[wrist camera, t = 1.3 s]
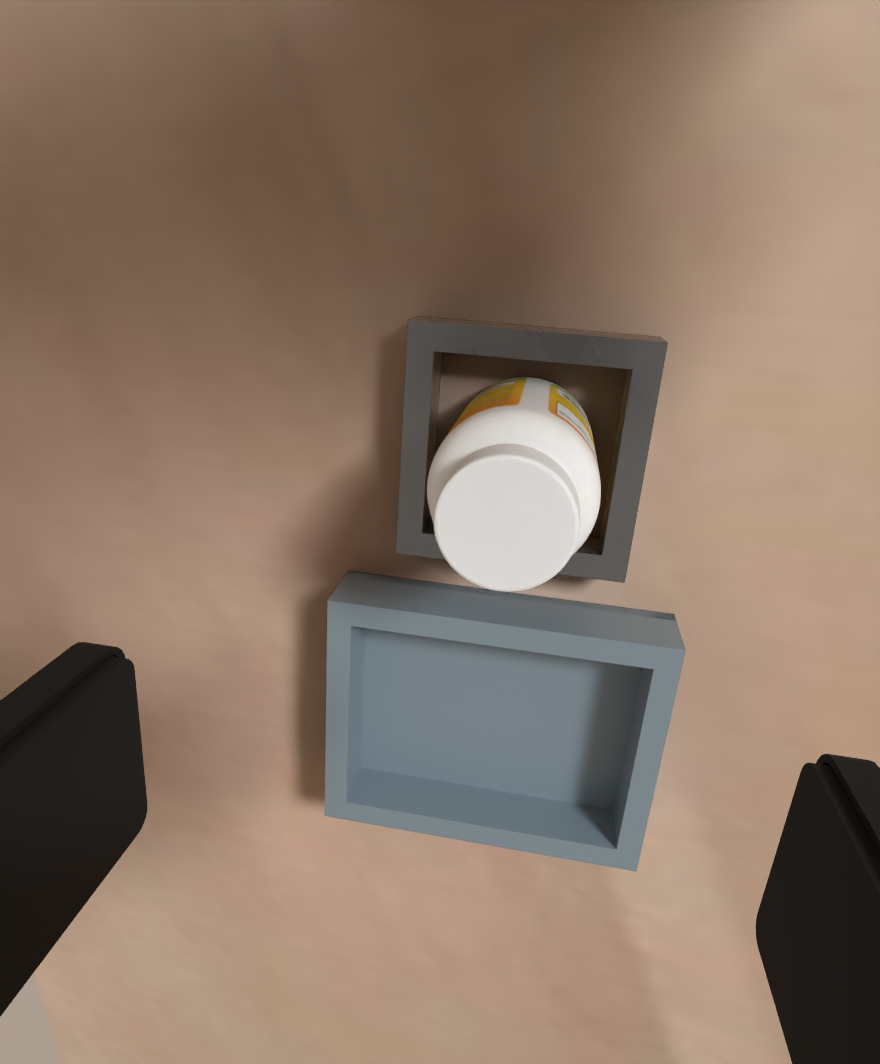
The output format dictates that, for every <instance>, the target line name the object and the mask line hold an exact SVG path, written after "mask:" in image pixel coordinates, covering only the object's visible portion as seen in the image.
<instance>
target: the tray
mask: <svg viewBox="0 0 880 1064" xmlns="http://www.w3.org/2000/svg"><path fill="white" fill-rule="evenodd" d="M685 651H686V650H685V647H684V644H683V641H682V638H681V634H680V631H679V628H678V625H677V622H676V619H675V616H674V614H668V613H661V612H653V611H646V610H638V609H631V608H623V607H616V606H608V605H601V604H593V603H586V602H578V601H571V600H563V599H556V598H548V597H540V596H533V595H525V594H518V593H510V592H503V591H494V590H488V589H480V588H473V587H465V586H458V585H450V584H443V583H435V582H428V581H420V580H413V579H405V578H398V577H390V576H383V575H375V574H367V573H360V572H352V571H348V572H347V574H346V575H345V576H344V578H343V579H342V581H341V582H340V583H339V585H338V586H337V588H336V589H335V591H334V592H333V593H332V595H331V596H330V598H329V599H328V600H327V670H326V745H325V816H328V817H334V818H340V819H345V820H351V821H356V822H362V823H368V824H373V825H379V826H384V827H390V828H395V829H401V830H407V831H412V832H418V833H423V834H429V835H435V836H440V837H446V838H451V839H457V840H463V841H468V842H474V843H479V844H485V845H491V846H496V847H502V848H507V849H513V850H519V851H524V852H530V853H535V854H541V855H547V856H552V857H558V858H563V859H569V860H575V861H580V862H586V863H591V864H597V865H603V866H608V867H614V868H619V869H625V870H631V871H637V866H638V862H639V857H640V853H641V848H642V844H643V839H644V835H645V830H646V826H647V821H648V817H649V812H650V808H651V803H652V799H653V794H654V790H655V785H656V781H657V776H658V772H659V767H660V763H661V758H662V754H663V749H664V745H665V740H666V736H667V731H668V727H669V722H670V718H671V713H672V709H673V705H674V700H675V696H676V691H677V687H678V682H679V678H680V673H681V669H682V664H683V660H684V655H685Z"/></svg>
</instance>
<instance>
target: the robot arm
mask: <svg viewBox="0 0 880 1064" xmlns="http://www.w3.org/2000/svg"><path fill="white" fill-rule="evenodd" d="M146 813H147V797H146V786H145V776H144V765H143V754H142V744H141V733H140V723H139V712H138V702H137V691H136V680H135V670H134V665H133V663H132V661H131V660H129V659H125V655H124V653H123V651H122V650H121V649H119V648H118V647H112V646H106V645H99V644H92V643H86V642H78V643H76V644H75V645H73V646H71V647H70V648H69V649H67V650H66V651H65V652H63V653H62V654H61V655H59V656H58V657H57V658H56V659H54V660H53V661H52V662H50V663H49V664H48V665H46V666H45V667H44V668H42V669H41V670H40V671H39V672H37V673H36V674H35V675H33V676H32V677H31V678H29V679H28V680H27V681H25V682H24V683H23V684H21V685H20V686H19V687H18V688H16V689H15V690H14V691H12V692H11V693H10V694H8V695H7V696H6V697H4V698H3V699H2V700H1V701H0V1016H1V1015H2V1014H3V1012H4V1011H5V1010H6V1008H7V1007H8V1006H9V1004H10V1003H11V1002H12V1000H13V999H14V998H15V996H16V995H17V994H18V992H19V991H20V990H21V988H22V987H23V986H24V984H25V983H26V982H27V980H28V979H29V978H30V976H31V975H32V974H33V973H34V971H35V970H36V969H37V967H38V966H39V965H40V963H41V962H42V961H43V959H44V958H45V957H46V955H47V954H48V953H49V951H50V950H51V949H52V947H53V946H54V945H55V943H56V942H57V941H58V939H59V938H60V937H61V935H62V934H63V933H64V931H65V930H66V929H67V927H68V926H69V925H70V923H71V922H72V921H73V919H74V918H75V917H76V915H77V914H78V913H79V911H80V910H81V909H82V907H83V906H84V905H85V903H86V902H87V901H88V899H89V898H90V897H91V895H92V894H93V893H94V892H95V890H96V889H97V888H98V886H99V885H100V884H101V882H102V881H103V880H104V878H105V877H106V876H107V874H108V873H109V872H110V870H111V869H112V868H113V866H114V865H115V864H116V862H117V861H118V860H119V858H120V857H121V856H122V854H123V853H124V852H125V850H126V849H127V848H128V846H129V845H130V844H131V842H132V841H133V840H134V838H135V837H136V836H137V834H138V833H139V831H140V830H141V828H142V826H143V823H144V821H145V818H146ZM756 938H757V944H758V948H759V952H760V955H761V959H762V962H763V965H764V969H765V972H766V976H767V979H768V982H769V986H770V989H771V993H772V996H773V999H774V1003H775V1006H776V1010H777V1013H778V1016H779V1020H780V1023H781V1027H782V1030H783V1033H784V1037H785V1040H786V1044H787V1047H788V1050H789V1054H790V1057H791V1061H792V1064H880V768H879V767H878V766H877V765H876V763H875V762H872V761H870V760H864V759H857V758H850V757H844V756H837V755H831V754H824V755H821V757H820V758H819V759H818V760H817V763H816V764H814V763H806V764H805V765H804V766H803V768H802V770H801V773H800V776H799V779H798V783H797V786H796V789H795V793H794V796H793V799H792V802H791V806H790V809H789V812H788V816H787V819H786V822H785V825H784V829H783V832H782V835H781V838H780V842H779V845H778V848H777V852H776V855H775V858H774V861H773V865H772V868H771V871H770V875H769V878H768V881H767V884H766V888H765V891H764V894H763V897H762V901H761V904H760V907H759V911H758V914H757V919H756Z"/></svg>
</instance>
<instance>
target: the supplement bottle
mask: <svg viewBox="0 0 880 1064" xmlns="http://www.w3.org/2000/svg"><path fill="white" fill-rule="evenodd" d="M427 499H428V505H429V510H430V514H431V517H432V520H433V525H434V533H435V537H436V541H437V543H438V546H439V549H440V551H441V553H442V555H443V556H444V558H445V559H446V561H447V562H448V563H449V565H450V566H451V567H452V568H453V569H454V570H455V571H456V572H457V573H458V574H459V575H461V576H462V577H463V578H465V579H467V580H468V581H470V582H472V583H473V584H475V585H478V586H481V587H483V588H486V589H490V590H494V591H504V592H513V591H522V590H527V589H530V588H533V587H536V586H538V585H540V584H542V583H544V582H546V581H548V580H550V579H551V578H552V577H554V576H555V575H556V574H557V573H558V572H559V571H560V570H561V569H562V568H563V567H564V566H565V565H566V563H567V562H568V561H569V559H570V557H571V556H572V555H573V554H574V553H575V552H576V551H577V550H578V549H579V548H580V547H581V546H582V545H583V543H584V542H585V541H586V539H587V538H588V536H589V534H590V533H591V531H592V529H593V527H594V525H595V522H596V519H597V516H598V512H599V508H600V499H601V482H600V474H599V469H598V463H597V457H596V451H595V445H594V440H593V434H592V430H591V427H590V424H589V421H588V419H587V416H586V414H585V412H584V410H583V409H582V407H581V406H580V405H579V403H578V402H577V401H576V400H575V399H574V398H573V397H572V396H571V395H570V394H569V393H568V392H567V391H565V390H564V389H563V388H561V387H559V386H558V385H556V384H554V383H552V382H549V381H546V380H543V379H539V378H533V377H516V378H510V379H506V380H502V381H500V382H497V383H495V384H493V385H491V386H489V387H487V388H486V389H484V390H483V391H481V392H480V393H479V394H478V395H477V396H476V397H474V398H473V400H472V401H471V402H470V403H469V404H468V405H467V407H466V408H465V409H464V411H463V412H462V414H461V415H460V417H459V418H458V420H457V421H456V423H455V424H454V426H453V427H452V429H451V430H450V432H449V433H448V434H447V436H446V437H445V439H444V440H443V442H442V443H441V445H440V447H439V448H438V450H437V452H436V454H435V456H434V459H433V461H432V464H431V467H430V471H429V475H428V482H427Z"/></svg>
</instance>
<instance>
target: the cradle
mask: <svg viewBox="0 0 880 1064" xmlns="http://www.w3.org/2000/svg"><path fill="white" fill-rule="evenodd" d="M667 344H668V342H667V341H665V340H664V339H663V338H661V337H655V336H644V335H632V334H620V333H608V332H597V331H585V330H573V329H561V328H550V327H538V326H526V325H514V324H503V323H491V322H479V321H467V320H456V319H444V318H432V317H420V316H418V317H415V318H412V319H409V320H408V326H407V346H406V365H405V385H404V405H403V424H402V444H401V464H400V483H399V503H398V523H397V542H396V553H398V554H405V555H413V556H421V557H429V558H436V559H444V560H446V559H445V558H444V556H443V555H442V553H441V551H440V549H439V546H438V543H437V541H436V537H435V533H434V525H433V520H432V517H431V514H430V510H429V505H428V499H427V482H428V475H429V471H430V467H431V464H432V461H433V459H434V456H435V447H436V433H437V418H438V404H439V389H440V375H441V360H442V352H447V353H458V354H469V355H480V356H491V357H502V358H512V359H523V360H534V361H545V362H556V363H567V364H578V365H589V366H600V367H611V368H622V369H627V372H626V378H625V384H624V390H623V396H622V402H621V409H620V415H619V421H618V427H617V433H616V440H615V446H614V452H613V458H612V464H611V470H610V477H609V483H608V489H607V495H606V501H605V508H604V514H603V520H602V526H601V532H600V537H595V536H588V538H587V539H586V541H585V542H584V543H583V545H582V546H581V547H580V548H579V549H578V550H577V551H576V552H575V553H574V554H573V555H572V556H571V557H570V559H569V561H568V562H567V563H566V565H565V566H564V567H563V568H562V569H561V570H560V571H559V572H558V573H557V574H561V575H569V576H576V577H584V578H592V579H600V580H608V581H615V582H623V583H625V578H626V572H627V567H628V561H629V556H630V550H631V544H632V539H633V533H634V528H635V522H636V517H637V511H638V506H639V500H640V494H641V489H642V483H643V478H644V472H645V467H646V461H647V455H648V450H649V444H650V439H651V433H652V428H653V422H654V417H655V411H656V405H657V400H658V394H659V389H660V383H661V378H662V372H663V366H664V361H665V355H666V350H667Z"/></svg>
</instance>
